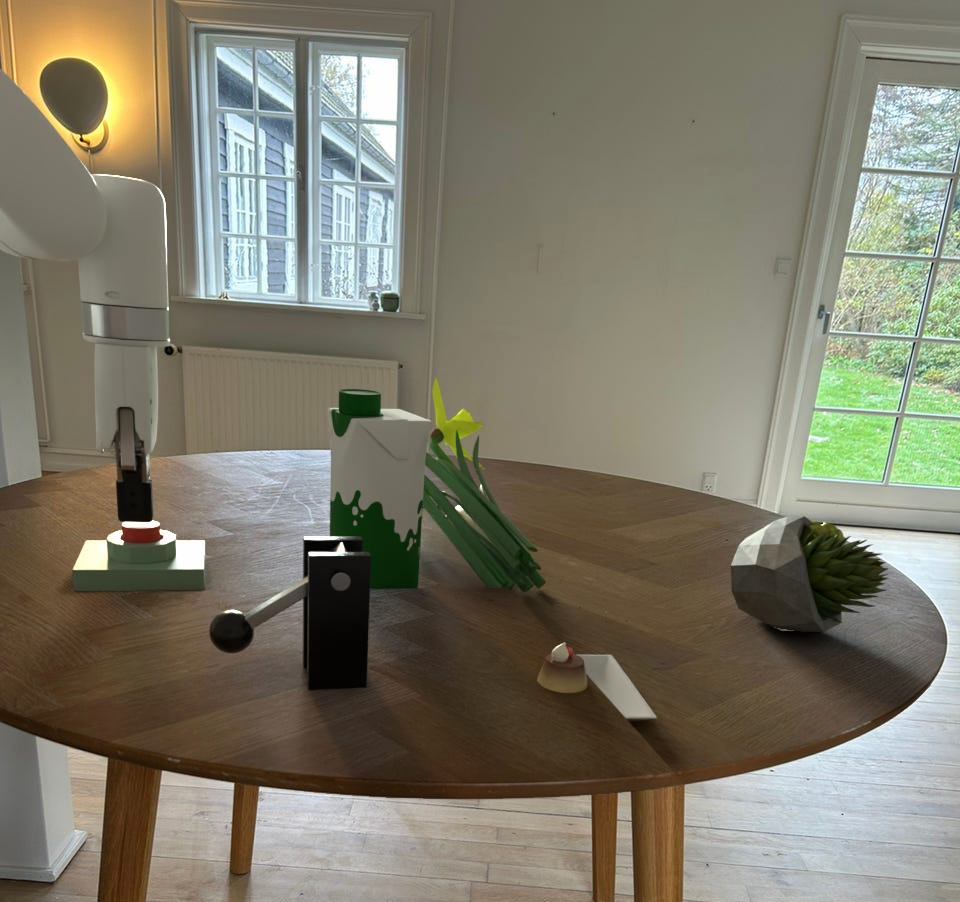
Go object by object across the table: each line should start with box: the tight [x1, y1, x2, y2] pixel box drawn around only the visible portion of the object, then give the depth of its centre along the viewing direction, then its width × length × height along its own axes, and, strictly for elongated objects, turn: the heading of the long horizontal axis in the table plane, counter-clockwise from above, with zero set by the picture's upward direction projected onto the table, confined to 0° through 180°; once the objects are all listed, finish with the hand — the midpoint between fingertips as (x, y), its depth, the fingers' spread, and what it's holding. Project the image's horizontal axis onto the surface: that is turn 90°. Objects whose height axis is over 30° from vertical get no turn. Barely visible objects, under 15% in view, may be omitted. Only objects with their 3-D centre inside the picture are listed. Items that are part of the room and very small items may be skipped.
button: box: [121, 519, 161, 543], centre depth 89 cm, size 4×4×2 cm
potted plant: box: [730, 515, 890, 633], centre depth 89 cm, size 12×13×15 cm
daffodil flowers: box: [422, 376, 547, 593], centre depth 105 cm, size 17×15×35 cm
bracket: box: [302, 535, 371, 691], centre depth 67 cm, size 12×9×12 cm
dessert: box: [536, 638, 658, 722], centre depth 71 cm, size 12×12×5 cm
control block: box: [71, 529, 207, 592], centre depth 90 cm, size 12×10×4 cm
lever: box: [208, 543, 348, 654], centre depth 65 cm, size 12×3×3 cm
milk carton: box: [327, 388, 432, 590], centre depth 89 cm, size 9×9×20 cm
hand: (136, 519), depth 88 cm, fingers closed
